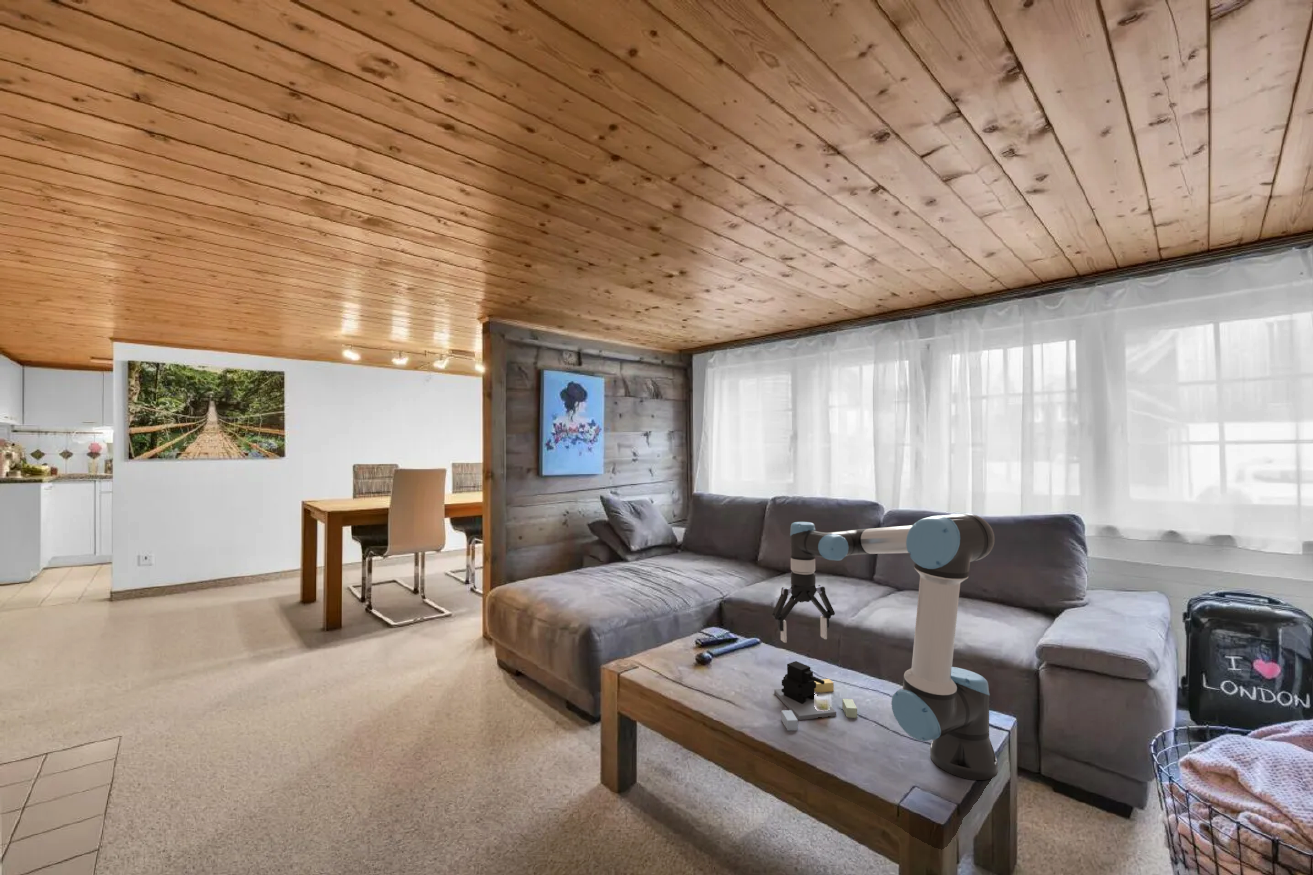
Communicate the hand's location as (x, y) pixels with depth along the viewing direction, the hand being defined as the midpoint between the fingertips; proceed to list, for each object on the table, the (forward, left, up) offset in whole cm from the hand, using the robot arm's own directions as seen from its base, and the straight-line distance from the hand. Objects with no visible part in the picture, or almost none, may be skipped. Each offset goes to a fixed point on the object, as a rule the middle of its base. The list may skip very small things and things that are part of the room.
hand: (803, 639), depth 174 cm
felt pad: (0, 0, -20) cm, 20 cm away
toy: (0, 0, -19) cm, 19 cm away
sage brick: (-8, -11, -20) cm, 24 cm away
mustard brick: (+8, -11, -20) cm, 24 cm away
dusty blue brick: (-11, +10, -20) cm, 25 cm away
